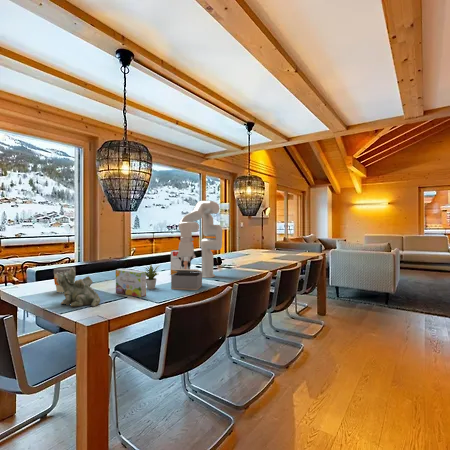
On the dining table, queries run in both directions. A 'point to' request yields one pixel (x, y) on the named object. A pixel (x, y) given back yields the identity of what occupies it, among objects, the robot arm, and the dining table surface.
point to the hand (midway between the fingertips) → (185, 266)
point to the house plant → (151, 277)
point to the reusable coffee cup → (59, 269)
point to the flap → (186, 268)
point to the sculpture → (77, 289)
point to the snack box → (131, 282)
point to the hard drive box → (176, 262)
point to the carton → (186, 280)
